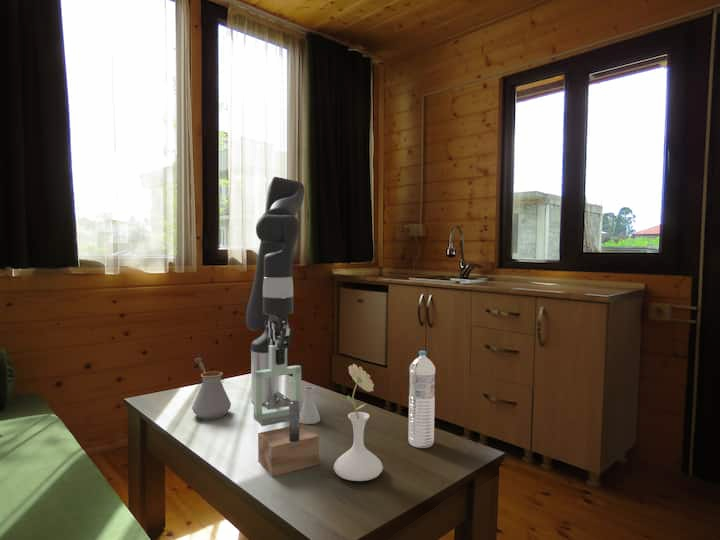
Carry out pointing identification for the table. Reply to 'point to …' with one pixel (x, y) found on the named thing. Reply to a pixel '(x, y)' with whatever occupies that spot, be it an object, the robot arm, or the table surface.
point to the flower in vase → (358, 439)
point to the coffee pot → (211, 396)
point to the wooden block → (287, 450)
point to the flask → (309, 408)
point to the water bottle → (421, 402)
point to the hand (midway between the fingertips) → (278, 362)
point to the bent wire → (292, 414)
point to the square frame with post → (274, 370)
